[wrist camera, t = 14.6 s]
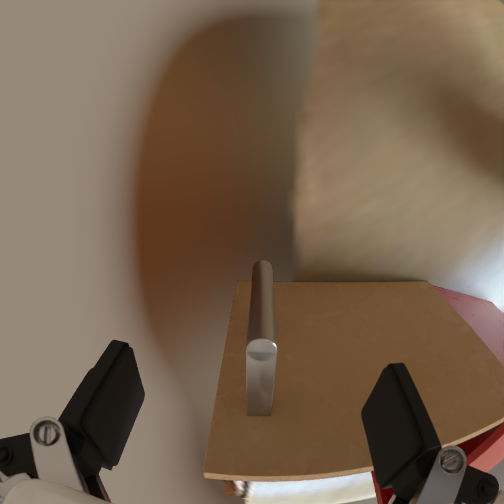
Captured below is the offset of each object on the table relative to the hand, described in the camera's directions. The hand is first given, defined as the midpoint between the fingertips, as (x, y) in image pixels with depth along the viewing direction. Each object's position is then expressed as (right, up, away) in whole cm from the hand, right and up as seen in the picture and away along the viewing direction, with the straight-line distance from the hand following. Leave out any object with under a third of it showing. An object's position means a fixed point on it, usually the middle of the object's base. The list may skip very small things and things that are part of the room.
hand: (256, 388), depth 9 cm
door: (+11, +4, +23) cm, 26 cm away
